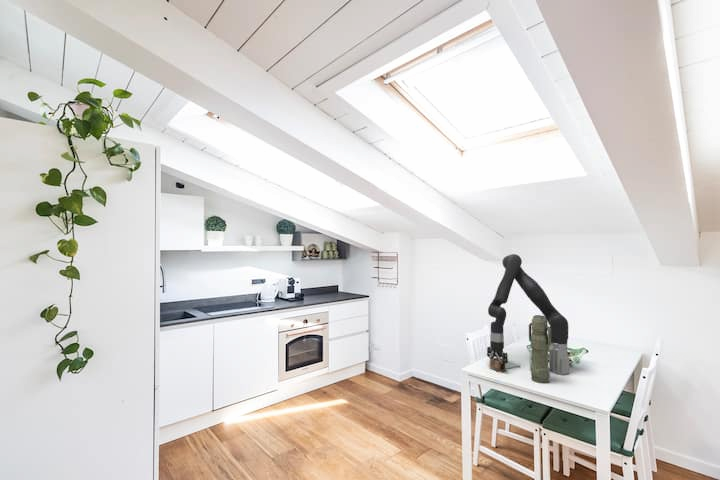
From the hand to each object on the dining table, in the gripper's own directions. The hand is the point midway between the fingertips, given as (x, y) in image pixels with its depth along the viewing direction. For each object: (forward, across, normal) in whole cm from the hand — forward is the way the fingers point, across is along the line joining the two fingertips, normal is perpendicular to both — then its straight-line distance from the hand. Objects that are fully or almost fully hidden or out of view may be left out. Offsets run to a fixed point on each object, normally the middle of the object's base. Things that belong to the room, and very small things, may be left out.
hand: (497, 367), depth 204 cm
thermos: (+1, -21, -10) cm, 24 cm away
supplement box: (+1, -10, -21) cm, 23 cm away
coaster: (+1, +4, -10) cm, 11 cm away
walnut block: (+1, 0, 0) cm, 2 cm away
